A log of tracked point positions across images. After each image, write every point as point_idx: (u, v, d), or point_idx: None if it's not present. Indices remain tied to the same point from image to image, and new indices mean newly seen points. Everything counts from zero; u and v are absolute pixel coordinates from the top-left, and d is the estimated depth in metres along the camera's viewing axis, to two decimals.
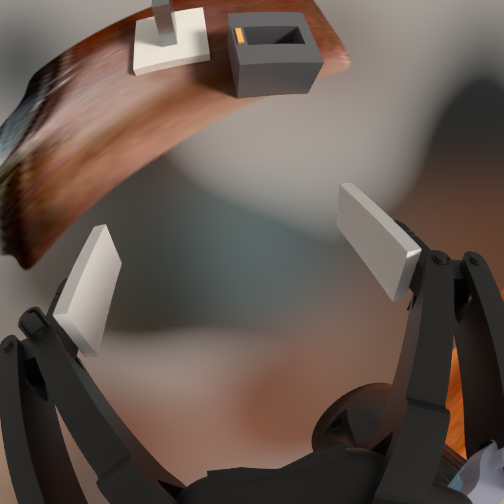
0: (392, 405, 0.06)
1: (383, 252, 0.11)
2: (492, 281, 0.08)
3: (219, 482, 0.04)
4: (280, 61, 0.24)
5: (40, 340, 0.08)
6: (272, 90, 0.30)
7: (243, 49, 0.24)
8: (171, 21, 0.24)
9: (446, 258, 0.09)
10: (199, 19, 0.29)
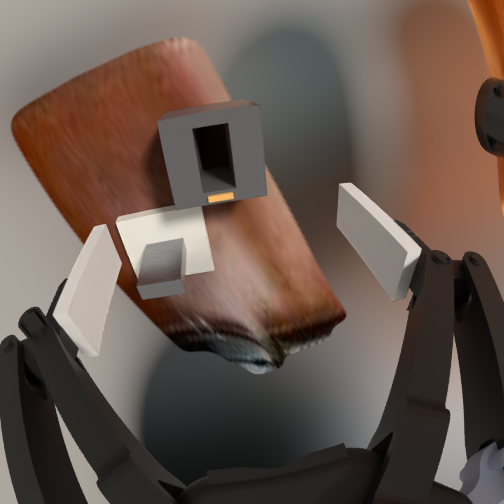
0: (392, 405, 0.06)
1: (383, 252, 0.11)
2: (492, 281, 0.08)
3: (219, 482, 0.04)
4: (263, 155, 0.25)
5: (40, 340, 0.08)
6: None
7: (243, 192, 0.27)
8: (181, 261, 0.31)
9: (446, 258, 0.09)
10: (139, 222, 0.33)
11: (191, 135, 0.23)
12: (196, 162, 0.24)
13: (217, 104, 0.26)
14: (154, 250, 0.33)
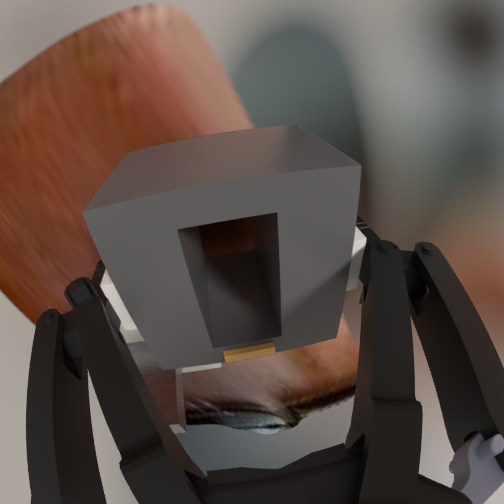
0: (359, 404, 0.07)
1: None
2: (449, 270, 0.09)
3: (219, 482, 0.04)
4: (346, 277, 0.11)
5: (85, 311, 0.09)
6: None
7: (294, 340, 0.13)
8: (176, 386, 0.19)
9: (392, 247, 0.10)
10: None
11: (177, 246, 0.09)
12: (195, 301, 0.11)
13: (236, 138, 0.12)
14: (134, 358, 0.21)
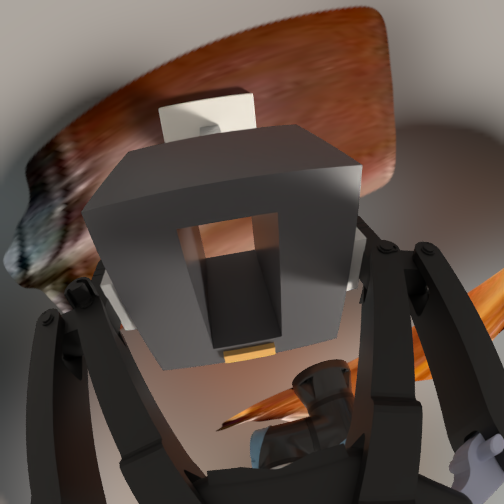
0: (359, 404, 0.07)
1: None
2: (449, 270, 0.09)
3: (219, 482, 0.04)
4: (346, 277, 0.11)
5: (85, 311, 0.09)
6: None
7: (294, 340, 0.13)
8: None
9: (392, 247, 0.10)
10: (249, 121, 0.28)
11: (176, 246, 0.09)
12: (195, 302, 0.10)
13: (236, 137, 0.12)
14: None
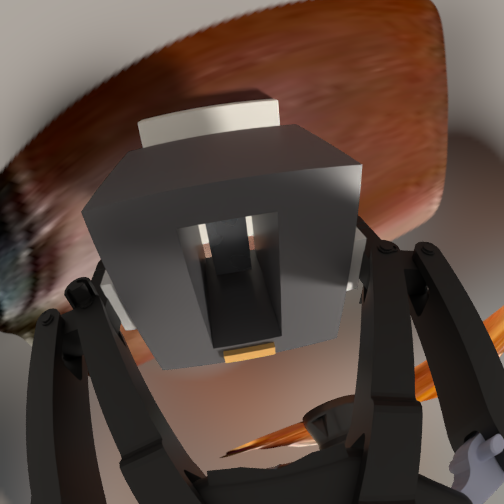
0: (359, 404, 0.07)
1: None
2: (449, 270, 0.09)
3: (219, 482, 0.04)
4: (346, 277, 0.11)
5: (85, 311, 0.09)
6: None
7: (294, 340, 0.13)
8: None
9: (392, 247, 0.10)
10: None
11: (176, 245, 0.09)
12: (194, 301, 0.10)
13: (236, 137, 0.12)
14: None
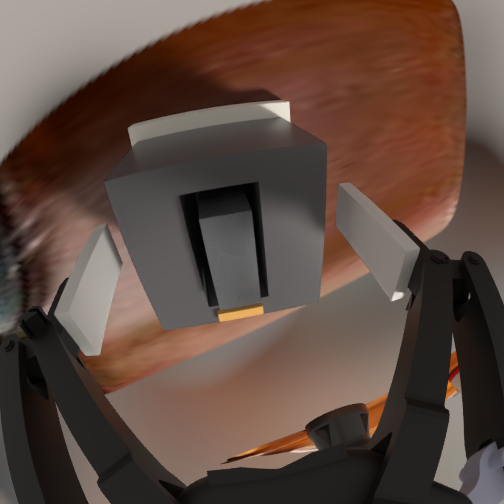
0: (391, 405, 0.06)
1: (382, 252, 0.11)
2: (491, 281, 0.08)
3: (219, 482, 0.04)
4: (322, 241, 0.13)
5: (41, 339, 0.08)
6: None
7: (280, 301, 0.15)
8: None
9: (444, 257, 0.09)
10: None
11: (178, 209, 0.11)
12: (193, 260, 0.13)
13: (228, 128, 0.14)
14: None
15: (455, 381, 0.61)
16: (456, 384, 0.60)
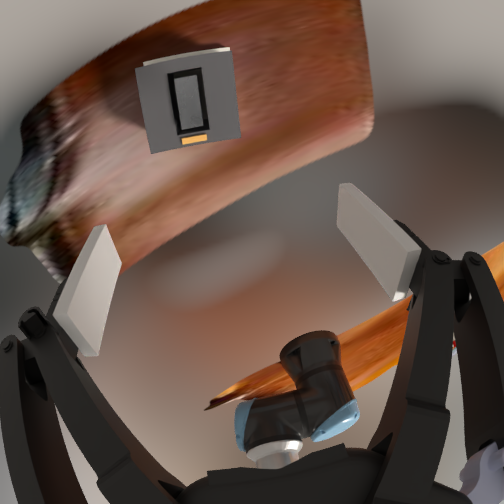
0: (392, 405, 0.06)
1: (383, 252, 0.11)
2: (492, 281, 0.08)
3: (219, 482, 0.04)
4: (235, 97, 0.24)
5: (40, 340, 0.08)
6: None
7: (217, 134, 0.26)
8: None
9: (446, 258, 0.09)
10: None
11: (166, 79, 0.21)
12: (170, 105, 0.23)
13: None
14: None
15: None
16: None
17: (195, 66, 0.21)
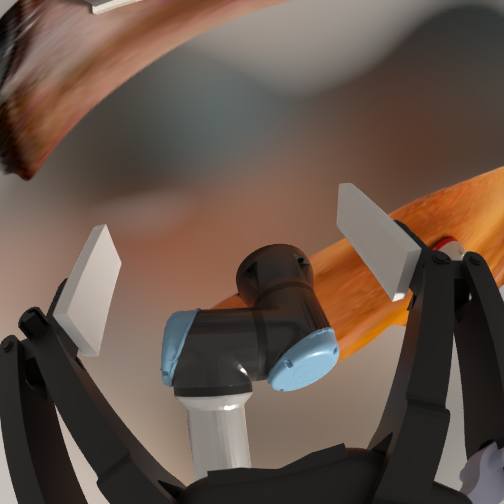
0: (392, 405, 0.06)
1: (383, 252, 0.11)
2: (492, 281, 0.08)
3: (219, 482, 0.04)
4: None
5: (40, 340, 0.08)
6: None
7: None
8: None
9: (446, 258, 0.09)
10: None
11: None
12: None
13: None
14: None
15: None
16: None
17: None
